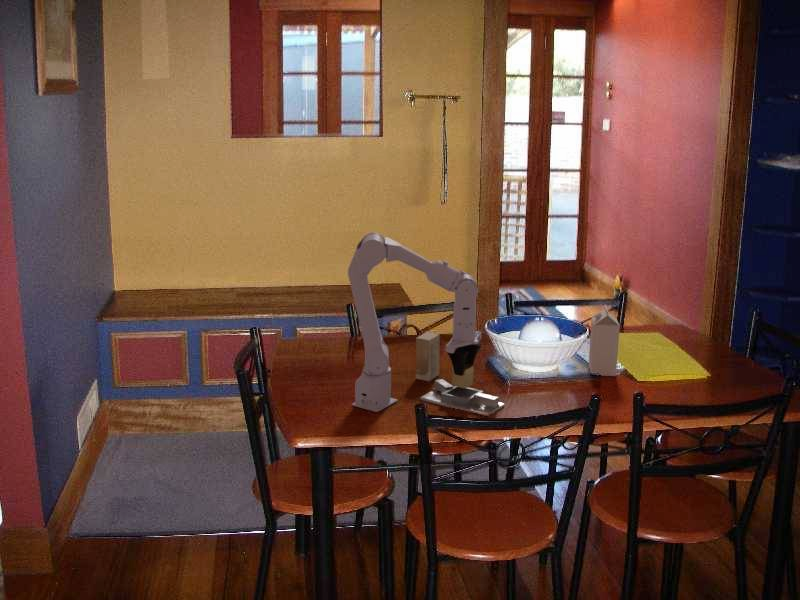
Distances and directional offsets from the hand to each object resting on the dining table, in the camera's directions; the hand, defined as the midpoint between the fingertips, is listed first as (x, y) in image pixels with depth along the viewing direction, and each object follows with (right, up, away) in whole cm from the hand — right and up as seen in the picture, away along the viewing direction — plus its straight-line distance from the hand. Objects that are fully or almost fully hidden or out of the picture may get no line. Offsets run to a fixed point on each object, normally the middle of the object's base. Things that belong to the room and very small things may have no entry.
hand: (463, 372), depth 242 cm
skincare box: (-9, -3, +21) cm, 23 cm away
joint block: (0, -3, +1) cm, 3 cm away
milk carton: (+41, -2, +26) cm, 49 cm away
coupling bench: (0, -8, +2) cm, 8 cm away
